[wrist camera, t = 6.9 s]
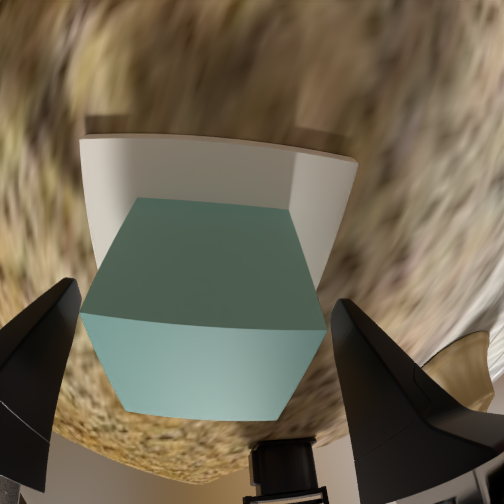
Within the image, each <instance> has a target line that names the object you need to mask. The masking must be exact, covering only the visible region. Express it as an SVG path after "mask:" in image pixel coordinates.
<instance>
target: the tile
mask: <svg viewBox="0 0 504 504" xmlns="http://www.w3.org/2000/svg"><path fill="white" fill-rule="evenodd" d="M79 140H80V156H81V168H82V178H83V187H84V195H85V203H86V210H87V216H88V222H89V228H90V234H91V239H92V245H93V250H94V254H95V259H96V264H97V268H98V270H99V268H100V266H101V264H102V262H103V260H104V258H105V256H106V254H107V252H108V250H109V248H110V246H111V244H112V242H113V240H114V238H115V236H116V235H117V233H118V231H119V229H120V227H121V225H122V224H123V222H124V220H125V218H126V216H127V215H128V213H129V211H130V209H131V208H132V206H133V204H134V203H135V201H136V199H137V198H157V199H173V200H187V201H201V202H213V203H225V204H236V205H247V206H257V207H267V208H277V209H286V210H289V212H290V215H291V218H292V221H293V224H294V227H295V230H296V233H297V236H298V238H299V241H300V244H301V247H302V250H303V253H304V256H305V259H306V262H307V265H308V268H309V272H310V275H311V278H312V281H313V284H314V287H315V290H317V288H318V285H319V282H320V280H321V277H322V274H323V272H324V269H325V266H326V264H327V261H328V258H329V255H330V252H331V250H332V247H333V244H334V241H335V238H336V235H337V232H338V229H339V226H340V223H341V220H342V217H343V214H344V211H345V208H346V205H347V202H348V199H349V196H350V193H351V189H352V186H353V183H354V180H355V176H356V173H357V169H358V166H359V163H358V162H357V161H356V160H355V159H354V158H352V157H347V156H342V155H337V154H332V153H327V152H322V151H316V150H311V149H305V148H299V147H293V146H286V145H279V144H272V143H265V142H257V141H248V140H239V139H230V138H219V137H207V136H192V135H174V134H135V133H122V134H87V135H85V136H84V137H82V138H81V139H79Z"/></svg>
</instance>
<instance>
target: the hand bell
mask: <svg viewBox="0 0 504 504" xmlns="http://www.w3.org/2000/svg"><path fill="white" fill-rule="evenodd" d="M488 347H489V334H488V333H487V332H485V331H479V332H475V333H472V334H469V335H467V336H465V337H463V338H462V339H460V340H458V341H456V342H454V343H453V344H451V345H450V346H448V347H447V348H445V349H444V350H442V351H441V352H440V353H438V354H437V355H436V356H435V357H433V358H432V359H431V360H430V361H429V362H428V363H427V364H425V365H424V366H423V367H422V370H423V371H425V372H426V373H427V374H428V375H429V376H430V377H431V378H432V379H433V380H434V381H435V382H436V383H437V384H439V385H440V386H441V387H442V388H443V389H444V390H445V391H447V392H448V393H449V394H450V395H451V396H452V397H454V398H455V399H456V400H457V401H458V402H459V403H461V404H462V405H463V406H465V407H466V408H468V409H471V410H474V411H480V412H486V413H487V409H488V407H489V405H490V403H491V401H492V400H493V398H494V396H495V392H494V389H493V386H492V382H491V379H490V375H489V371H488V365H487V351H488Z"/></svg>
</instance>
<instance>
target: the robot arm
mask: <svg viewBox="0 0 504 504" xmlns="http://www.w3.org/2000/svg"><path fill="white" fill-rule="evenodd" d="M81 300H82V298H81V293H80V290H79V287H78V284H77V281H76V279H74V278H67V277H66V278H63V279H62V280H61V281H59V282H58V283H57V284H55V285H54V286H53V287H51V288H50V289H49V290H48V291H46V292H45V293H44V294H42V295H41V296H40V297H39V298H37V299H36V300H35V301H34V302H32V303H31V304H30V305H29V306H28V307H26V308H25V309H24V310H23V311H21V312H20V313H19V314H18V315H17V316H16V317H14V318H13V319H12V320H11V321H10V322H8V323H7V324H6V325H5V326H4V327H3V328H2V329H0V504H26V502H25V500H24V498H23V497H22V495H21V493H20V488H21V485H24V486H26V487H29V488H31V489H34V490H37V491H39V492H42V493H44V492H45V482H46V470H47V461H48V453H49V446H50V443H49V442H50V438H51V432H52V426H53V421H54V415H55V410H56V405H57V400H58V396H59V392H60V387H61V383H62V379H63V375H64V371H65V367H66V364H67V360H68V356H69V353H70V349H71V346H72V342H73V338H74V334H75V329H76V324H77V319H78V315H79V310H80V306H81ZM330 323H331V331H332V340H333V350H334V358H335V363H336V368H337V372H338V377H339V382H340V386H341V391H342V396H343V401H344V406H345V411H346V417H347V422H348V427H349V433H350V438H351V444H352V450H353V456H354V460H355V461H354V463H355V469H356V475H357V483H358V490H359V497H360V503H361V504H386V503H390V502H393V501H396V503H397V504H504V415H501V414H493V413H486V412H480V411H474V410H471V409H468V408H466V407H465V406H463V405H462V404H461V403H459V402H458V401H457V400H456V399H455V398H454V397H452V396H451V395H450V394H449V393H448V392H447V391H445V390H444V389H443V388H442V387H441V386H440V385H439V384H437V383H436V382H435V381H434V380H433V379H432V378H431V377H430V376H429V375H428V374H427V373H426V372H425V371H423V370H422V369H421V368H420V367H419V366H418V365H417V364H416V363H414V361H413V360H412V359H411V358H410V357H409V356H408V355H407V354H406V353H405V352H404V351H403V350H402V349H401V348H400V347H399V346H398V345H397V344H396V343H395V342H394V341H393V340H392V339H391V338H390V337H389V336H388V335H387V334H386V333H385V332H384V331H383V330H382V329H381V328H380V327H379V326H378V325H377V324H376V323H375V322H374V321H373V320H372V319H371V318H370V317H369V316H368V315H366V314H365V313H364V312H363V311H362V310H361V309H360V308H359V307H358V306H357V305H356V304H355V303H354V302H353V301H352V300H351V299H343V298H341V299H338V301H337V302H336V305H335V307H334V309H333V311H332V313H331V316H330ZM316 442H317V441H316V438H311V439H301V440H289V441H274V442H259V443H257V445H256V447H255V448H254V450H253V451H252V452H251V453H250V455H249V456H248V458H249V472H250V485H251V486H256V496H254V497H252V496H246V497H243V504H258V503H266V502H275V501H285V500H292V499H299V498H306V497H311V496H317V495H321V499H314V500H309V501H302V502H296V503H288V504H329V501H328V495H327V489H326V486H323V487H321V488H318V482H317V476H316V470H315V464H314V458H313V451H312V446H313V445H314V444H315V443H316Z"/></svg>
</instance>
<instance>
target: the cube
mask: <svg viewBox="0 0 504 504" xmlns="http://www.w3.org/2000/svg"><path fill="white" fill-rule="evenodd" d="M79 313H80V316H81V318H82V321H83V323H84V326H85V328H86V331H87V333H88V336H89V338H90V340H91V343H92V345H93V347H94V350H95V352H96V354H97V356H98V358H99V360H100V363H101V365H102V367H103V369H104V371H105V373H106V375H107V377H108V379H109V381H110V383H111V385H112V387H113V389H114V391H115V392H116V394H117V396H118V398H119V400H120V402H121V403H122V405H123V407H124V409H125V411H129V412H135V413H141V414H148V415H156V416H165V417H174V418H185V419H198V420H218V421H273V420H277V419H278V417H279V416H280V414H281V413H282V411H283V409H284V408H285V406H286V404H287V403H288V401H289V399H290V398H291V396H292V394H293V393H294V391H295V389H296V388H297V386H298V384H299V382H300V381H301V379H302V377H303V375H304V374H305V372H306V370H307V368H308V366H309V365H310V363H311V361H312V359H313V357H314V355H315V354H316V352H317V350H318V348H319V346H320V344H321V342H322V340H323V338H324V337H325V335H326V333H327V331H328V330H327V326H326V323H325V320H324V316H323V313H322V310H321V306H320V303H319V300H318V297H317V294H316V290H315V287H314V284H313V281H312V278H311V275H310V272H309V268H308V265H307V262H306V259H305V256H304V253H303V250H302V247H301V244H300V241H299V238H298V236H297V233H296V230H295V227H294V224H293V221H292V218H291V215H290V212H289V210H286V209H277V208H267V207H257V206H247V205H236V204H225V203H213V202H201V201H187V200H173V199H157V198H137V199H136V201H135V203H134V204H133V206H132V208H131V209H130V211H129V213H128V215H127V216H126V218H125V220H124V222H123V224H122V225H121V227H120V229H119V231H118V233H117V235H116V236H115V238H114V240H113V242H112V244H111V246H110V248H109V250H108V252H107V254H106V256H105V258H104V260H103V262H102V264H101V266H100V268H99V270H98V272H97V274H96V276H95V278H94V280H93V282H92V285H91V287H90V289H89V291H88V293H87V296H86V298H85V300H84V302H83V305H82V307H81V309H80V312H79Z"/></svg>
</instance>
